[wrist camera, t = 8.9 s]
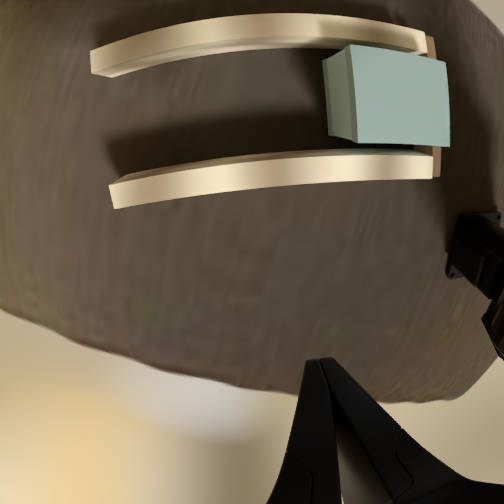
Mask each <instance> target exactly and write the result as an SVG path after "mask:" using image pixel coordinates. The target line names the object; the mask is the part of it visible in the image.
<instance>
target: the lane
mask: <svg viewBox="0 0 504 504" xmlns="http://www.w3.org/2000/svg"><path fill="white" fill-rule="evenodd" d="M348 45H360V46H368V47H375V48H382V49H388V50H394V51H399V52H405V53H409V54H414V55H418V54H423V53H428V51H427V45H426V39H425V33H424V32H422V31H419V30H415V29H411V28H407V27H403V26H398V25H394V24H389V23H384V22H379V21H373V20H367V19H360V18H353V17H345V16H335V15H323V14H303V13H270V14H250V15H238V16H228V17H220V18H212V19H206V20H200V21H194V22H188V23H183V24H178V25H174V26H169V27H165V28H161V29H157V30H153V31H149V32H145V33H142V34H138V35H135V36H132V37H129V38H125V39H122V40H119V41H116V42H114V43H111V44H108V45H105V46H102V47H100V48H97V49H95V50H92V51H90V58H91V73H93V74H98V75H102V76H107V77H111V78H113V77H116V76H119V75H122V74H125V73H129V72H132V71H136V70H139V69H143V68H147V67H150V66H154V65H158V64H163V63H167V62H172V61H176V60H181V59H186V58H192V57H197V56H204V55H210V54H217V53H225V52H233V51H243V50H255V49H272V48H324V49H341V50H344V47H346V46H348ZM432 173H433V156H430V155H427V154H424V153H420V152H417V151H414V150H410V149H372V148H364V149H321V150H302V151H287V152H274V153H263V154H253V155H243V156H235V157H226V158H219V159H211V160H204V161H197V162H191V163H185V164H179V165H173V166H167V167H162V168H156V169H151V170H146V171H141V172H136V173H131V174H127V175H125V176H123V177H122V178H120V179H118V180H117V181H115V182H113V183H112V184H110V185H109V189H110V193H111V197H112V201H113V205H114V209H117V208H123V207H128V206H134V205H139V204H145V203H151V202H157V201H163V200H170V199H176V198H183V197H190V196H197V195H204V194H211V193H219V192H227V191H236V190H244V189H254V188H263V187H273V186H284V185H296V184H309V183H323V182H339V181H358V180H385V179H432Z"/></svg>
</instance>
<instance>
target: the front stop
mask: <svg viewBox="0 0 504 504" xmlns="http://www.w3.org/2000/svg"><path fill="white" fill-rule="evenodd" d="M425 39H426V45H427V51H428V53H423V54H418V55H419V56H423V57H427V58H431V59H435V60H437V59H436V52H435V46H434V40H433V37H430V36H426V35H425ZM414 151H417V152H420V153H424V154H427V155H430V156H433V173H432V177H440V167H441V146H431V145H415V144H414Z"/></svg>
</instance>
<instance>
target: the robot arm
mask: <svg viewBox="0 0 504 504" xmlns="http://www.w3.org/2000/svg"><path fill="white" fill-rule="evenodd" d="M462 219H463V220H462ZM500 222H501V213H500V212H498V211H490V212H473V213H461V214H460V215H459V216H458V220H457V226H456V232H455V237H454V242H453V247H452V252H451V257H450V261H449V266H448V270H447V274H446V276H447V277H448V278H449V279H456V278H460V277H465V278H466V279H467V280H468V281H469V282H470V283H471V284H472V285H473V286H474V287H477V288H478V289H479V290H480V291H481V292H482V293H483V294H484V295H485V296H486V297H487V298H488V299H492V301H491V303H490V305H489V307H488V309H487V311H486V313H485V314H484V315H483V317H482V318H481V320H482V322H483V324H484V326H485V328H486V330H487V332H488V334H489V337H490V339H491V341H492V343H493V345H494V348H495V350H496V352H497V354H498V356H499V357H500V358H502V359H503V360H504V228H502V227H501V226H500ZM341 494H342V498H343V502H344V504H504V485H502V484H494V483H486V482H479V481H474V480H471V479H468V478H465V477H463V476H461V475H460V474H458V473H457V472H455V471H454V470H453V469H451V468H450V467H448V466H447V465H445V464H444V463H443V462H441V461H440V460H438V459H437V458H436V457H435V456H433V455H432V454H431V453H430V452H428V451H427V450H426V449H425V448H423V447H422V446H421V445H420V444H419V443H418V442H416V441H415V440H414V439H413V438H412V437H411V436H410V435H409V434H408V433H407V432H406V431H405V430H404V429H401V426H400V425H399V424H398V423H397V422H396V421H395V420H394V419H393V418H392V417H391V416H390V415H389V414H388V413H387V412H386V411H385V410H384V409H383V408H382V407H381V406H380V405H379V404H378V403H377V402H376V401H375V400H374V399H373V398H372V397H371V396H370V395H369V394H368V393H367V392H366V391H365V390H364V389H363V388H362V387H361V386H360V385H359V384H358V383H357V382H356V381H355V380H354V379H353V378H352V377H351V376H350V375H349V374H348V373H347V371H346V370H345V369H344V368H343V367H342V366H341V365H340V364H339V363H338V362H337V361H336V360H335V359H334V358H332V357H327V358H321V359H311V360H307V361H306V362H305V368H304V373H303V378H302V383H301V388H300V392H299V397H298V402H297V407H296V411H295V415H294V420H293V424H292V428H291V432H290V436H289V440H288V444H287V448H286V453H285V456H284V460H283V463H282V466H281V469H280V473H279V476H278V479H277V481H276V484H275V486H274V488H273V490H272V493H271V495H270V497H269V499H268V501H267V503H266V504H342V500H341Z"/></svg>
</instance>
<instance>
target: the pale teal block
mask: <svg viewBox="0 0 504 504" xmlns="http://www.w3.org/2000/svg"><path fill="white" fill-rule="evenodd" d="M322 66H323V75H324V85H325V95H326V107H327V120H328V135H329V136H337V137H342V138H346V139H349V140H352V141H353V142H356V143H393V144H415V145H431V146H443V147H450V111H449V93H448V81H447V71H446V63H445V62H442V61H439V60H435V59H431V58H427V57H423V56H419V55H414V54H409V53H405V52H399V51H394V50H388V49H382V48H375V47H368V46H360V45H348V46H346V47H344V50H342V51H340V52H338V53H337V54H335V55H333V56H331V57H330V58H328V59H324V60H323V61H322Z"/></svg>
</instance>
